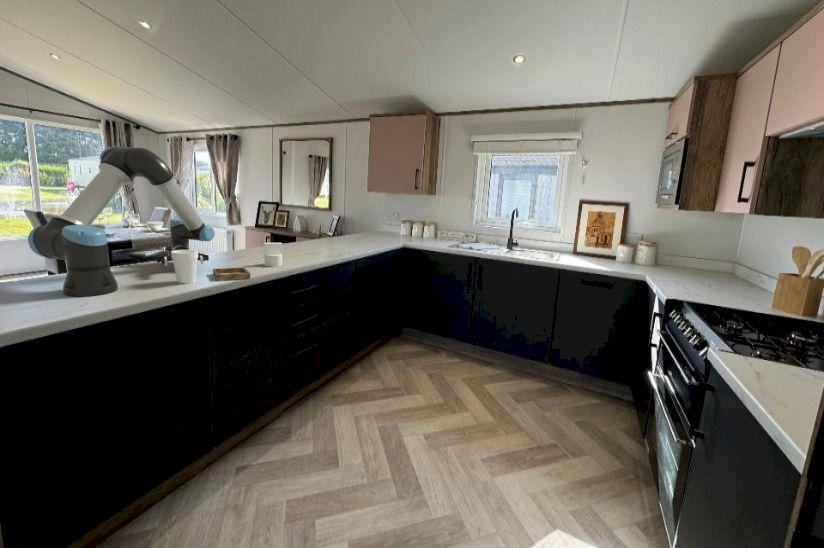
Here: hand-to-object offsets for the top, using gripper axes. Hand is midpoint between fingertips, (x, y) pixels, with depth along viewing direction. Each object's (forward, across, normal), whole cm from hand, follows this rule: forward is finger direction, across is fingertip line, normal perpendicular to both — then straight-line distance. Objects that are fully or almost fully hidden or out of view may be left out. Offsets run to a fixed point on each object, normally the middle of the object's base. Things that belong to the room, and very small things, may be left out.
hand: (184, 261), depth 162 cm
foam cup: (+9, 0, -7) cm, 12 cm away
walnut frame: (+4, -18, -7) cm, 20 cm away
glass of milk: (-18, -42, -7) cm, 46 cm away
